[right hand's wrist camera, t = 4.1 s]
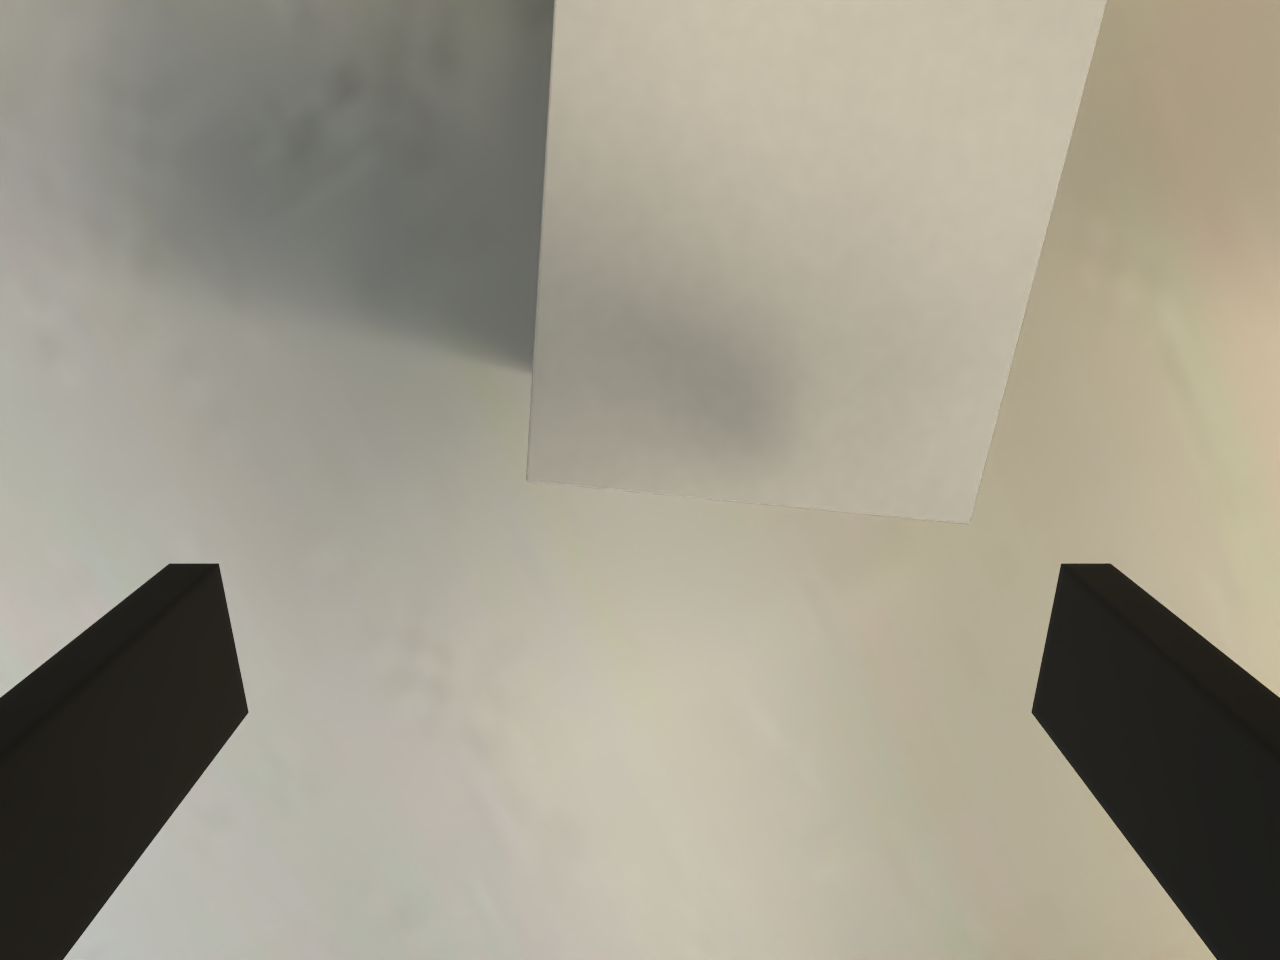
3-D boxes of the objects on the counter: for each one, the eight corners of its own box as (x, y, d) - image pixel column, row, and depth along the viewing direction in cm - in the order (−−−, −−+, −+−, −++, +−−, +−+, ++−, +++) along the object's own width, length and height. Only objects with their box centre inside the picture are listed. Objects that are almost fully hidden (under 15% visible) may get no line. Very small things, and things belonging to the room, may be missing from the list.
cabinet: (622, -403, 22) (607, -911, 12) (1013, -351, 22) (1319, -801, 12) (565, 384, 29) (525, 482, 19) (858, 414, 29) (970, 525, 19)
